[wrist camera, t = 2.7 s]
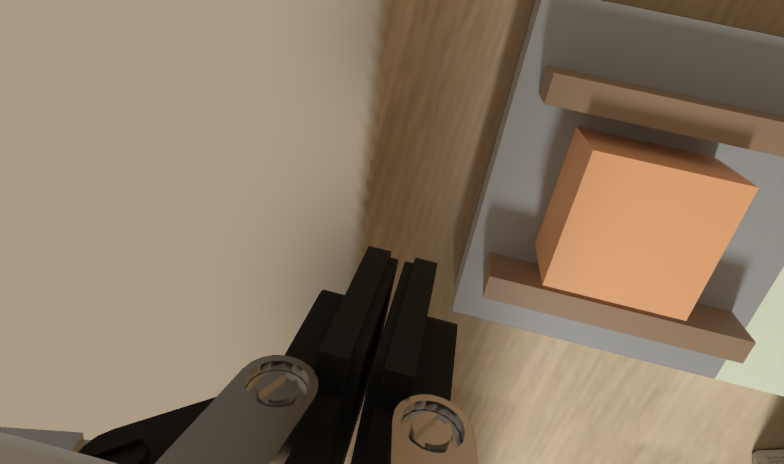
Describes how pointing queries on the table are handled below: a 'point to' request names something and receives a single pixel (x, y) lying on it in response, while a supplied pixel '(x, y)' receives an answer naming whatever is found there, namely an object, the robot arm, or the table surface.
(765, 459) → the coffee box
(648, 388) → the table surface
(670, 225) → the block
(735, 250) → the compartment tray
